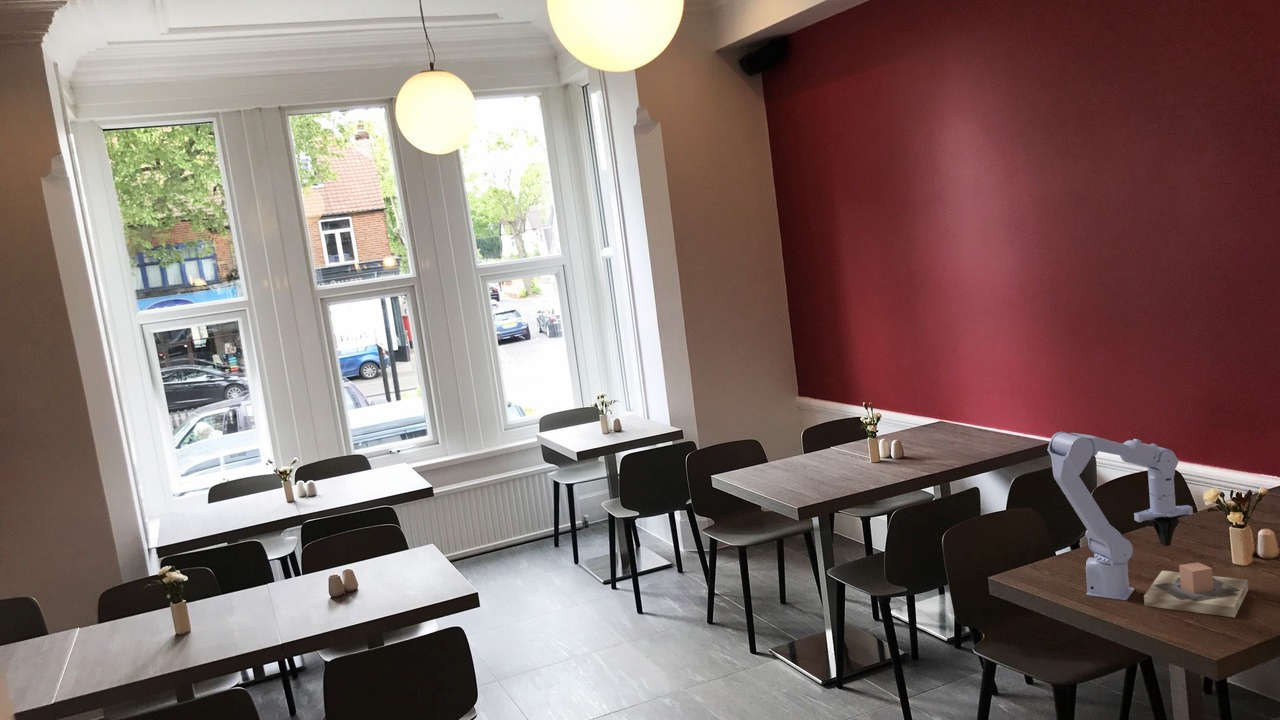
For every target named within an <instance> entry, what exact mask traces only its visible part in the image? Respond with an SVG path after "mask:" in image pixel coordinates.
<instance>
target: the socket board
mask: <svg viewBox="0 0 1280 720" xmlns="http://www.w3.org/2000/svg"><path fill="white" fill-rule="evenodd" d="M1212 576H1213V591H1208V592H1202V593H1196V594H1191V593H1189V592H1187V591H1186V590H1184V589H1182V588H1181V585H1180V571H1179V572H1178V571H1171V570H1161V571H1160V573H1159V574H1158V575H1157V577H1156V578H1155V579H1154V581H1153V583H1152V584H1151V585H1150V587H1148V590H1147V591H1146V592H1145V594H1144V595H1143V601H1144V602H1143V603H1144V607H1150V608H1151V607H1152V608H1157V609H1158V608H1159V609H1165V610H1167V609H1168V610H1174V611H1183V612H1188V613H1197V614H1199V613H1200V614H1205V615H1211V616H1212V615H1213V616H1221V617H1228V618H1236V616H1237V614H1238V612H1239V610H1240V608H1241V605H1242V603H1243V601H1244V599H1245V598H1246V595H1247V593H1248V591H1249V580H1248V579H1244V578H1242V579H1241V578H1236V577H1235V578H1234V577H1225V576H1215V575H1212Z"/></svg>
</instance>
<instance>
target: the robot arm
mask: <svg viewBox="0 0 1280 720" xmlns="http://www.w3.org/2000/svg"><path fill="white" fill-rule="evenodd" d="M1047 452H1048V454H1049V455H1050V459H1051V467H1052V468H1051V469H1052V475H1053V478H1054V480H1055V481H1056V484H1057V485H1058V486H1059V488H1060V489H1061V492H1062V493H1063V495H1065V497H1066V499H1067V501H1068V503H1070V506H1071V507H1072V508H1073V510H1074V512H1075V513H1076V514H1077V516H1078V517H1079V518H1078V519H1080V520H1081V521H1080V522H1082V524H1083V526H1084V527H1085V528H1086V531H1085V533H1084V535H1085V536H1086V538H1087V542H1088V544H1087V545H1088V548H1089V550H1090V551H1091V552H1092V553H1093V557H1088V558H1087V559H1086V561H1085V563H1086V564H1085V578H1086V591H1087V592H1086V595H1087V596H1091V597H1097V598H1107V599H1113V600H1114V599H1115V600H1121V601H1127V600H1128V599H1129V598H1130V596H1131V595H1132V594H1133V592H1134V591H1135V588H1134V587H1130V583H1129V582H1130V581H1129V567H1128V563H1129V560H1130V559H1131V557H1132V556H1133V551H1134V549H1133V548H1134V547H1133V544H1132V542H1131V541H1130V540H1128V539H1127V538H1125V537H1123V535H1122V534H1121V532H1120V531H1118V530H1117V529H1116V528H1115V527H1114V526H1113V525H1111V524H1110V523H1109V520H1108V519H1107V518H1106V516H1105V515H1104V512H1103V511H1102V510H1101V508H1100V506H1099V505H1098V503H1097V502H1096V501H1095V499H1094V497H1093V495H1092V494H1091V492H1090V491H1089V490H1088V488H1087V486H1086V484H1085V483H1084V481H1083V480H1082V478H1081V477H1080V474H1082V473H1083V471H1084V470H1085V468H1086V466H1087V465H1088V464H1089V462H1090V460H1091V458H1093V457H1095V456H1097V455H1098V453H1099V452H1100V453H1106V454H1110V455H1116V456H1120V459H1121V460H1122V461H1123V462H1124V463H1128V464H1132V465H1137V466H1141V467H1144V468H1147V476H1148V478H1147V479H1148V491H1149V506H1150V507H1149V508H1148V509H1145V510H1141V511H1139V512H1138V511H1137V512H1134V513H1133V515H1134V516H1133V517H1134V519H1133V520H1134V521H1136V522H1137V523H1143V521H1144V522H1145V521H1149V522H1150V523H1151V525H1152V527H1153V528H1154V530H1155V532H1156V534H1157V536H1158V539H1159V543H1160V545H1162V546H1164V547H1169V546H1171V544H1172V539H1173V536H1174V532H1175V531H1176V528H1177V526H1178V525H1179V524H1180V519H1179V518H1178V517H1177V516H1184V515H1185V516H1186V515H1190V516H1191V515H1194V512H1193V511H1194V509H1193V506H1191V505H1189V504H1186V505H1176V493H1175V475H1176V468H1177V467H1178V464H1179V458H1177V456H1176V454H1175V452H1174V451H1173V450H1171V449H1169V448H1164V447H1162V446H1158V445H1157V444H1156V443H1150V444H1148V443H1144V442H1142V440H1140V439H1136V438H1133V440H1131V439H1128V440H1126V441H1124V442H1123V443H1121V442H1117V441H1113V440H1110V439H1106V438H1102V437H1098V436H1095V435H1090V434H1085V433H1084V434H1083V433H1077V432H1076V433H1075V432H1070V433H1068V432H1067V431H1066V432H1065V431H1059V432H1058V431H1057V432H1056V433H1054V434H1053V435H1052V436H1051V438H1050V441H1049V443H1048V446H1047Z"/></svg>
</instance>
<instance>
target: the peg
mask: <svg viewBox="0 0 1280 720" xmlns="http://www.w3.org/2000/svg"><path fill="white" fill-rule="evenodd" d="M1178 566H1179V567H1178V568H1179V572H1180V585H1181V588H1182V589H1184V590H1186V591H1187V592H1189V593H1191V594H1196V593H1202V592H1208V591H1213V576H1214V575H1213V568H1212V567H1210V566H1208V565H1206V564H1203V563H1201V562H1199V561H1198V562H1191V563H1185V564H1179V565H1178Z"/></svg>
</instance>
